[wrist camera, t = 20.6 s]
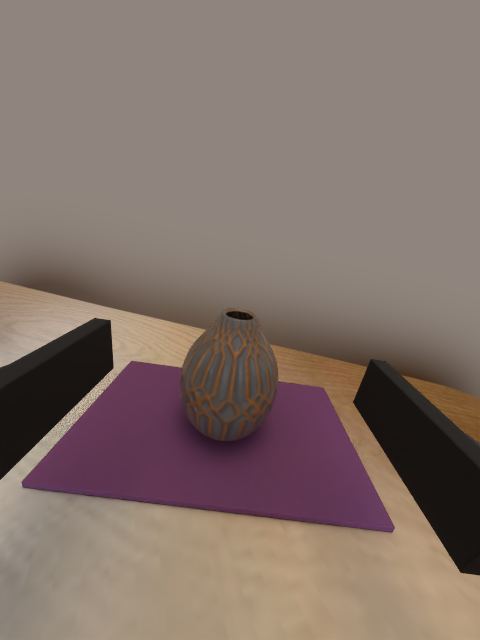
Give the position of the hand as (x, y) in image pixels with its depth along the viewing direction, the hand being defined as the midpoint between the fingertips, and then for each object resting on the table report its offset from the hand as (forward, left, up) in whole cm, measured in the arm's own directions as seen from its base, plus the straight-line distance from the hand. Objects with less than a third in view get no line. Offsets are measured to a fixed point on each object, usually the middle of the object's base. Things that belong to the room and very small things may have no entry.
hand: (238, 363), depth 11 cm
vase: (0, -4, -8) cm, 8 cm away
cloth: (0, -4, -8) cm, 9 cm away
